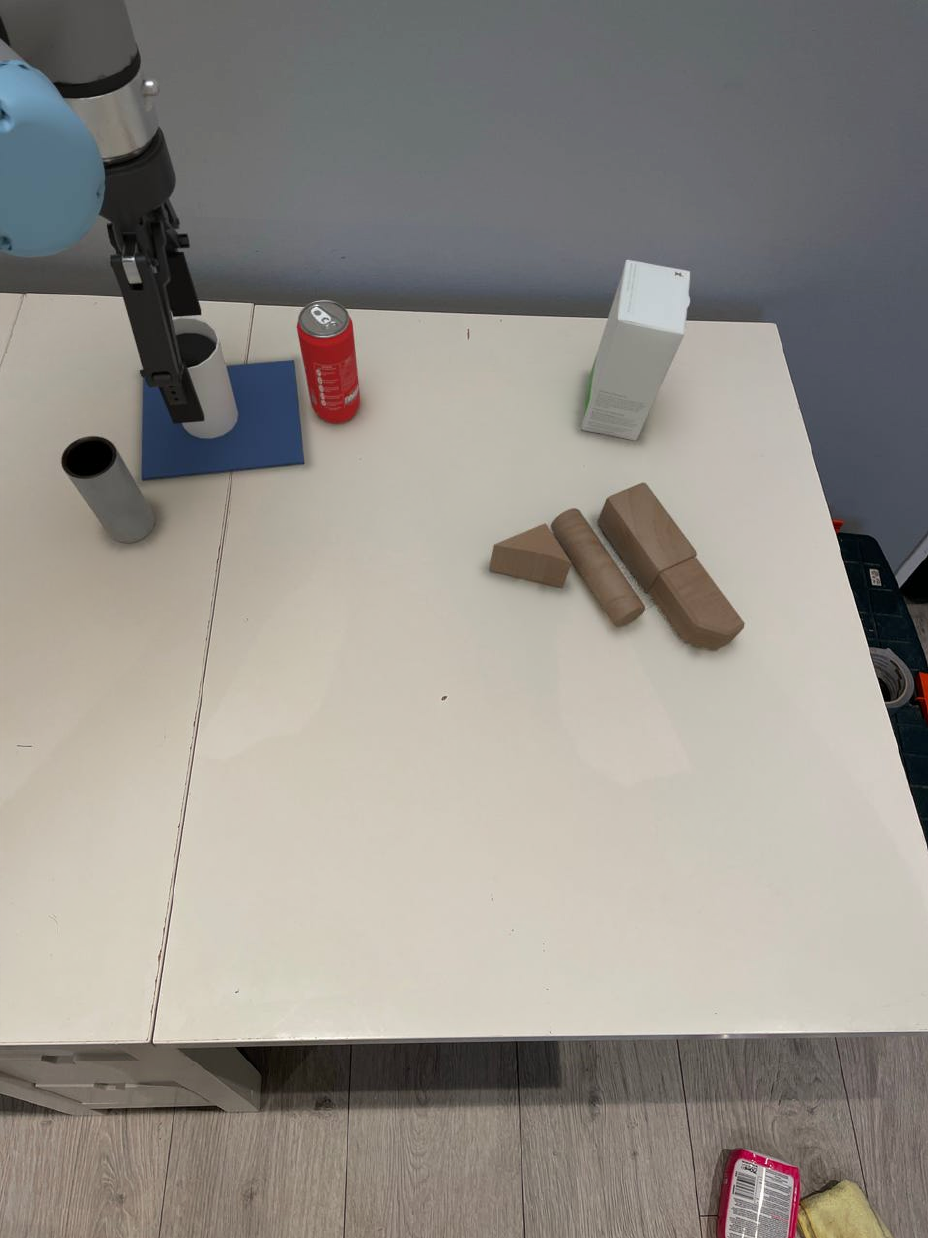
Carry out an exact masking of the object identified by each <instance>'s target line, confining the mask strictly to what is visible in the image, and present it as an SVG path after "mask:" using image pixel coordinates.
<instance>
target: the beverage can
mask: <svg viewBox="0 0 928 1238" xmlns="http://www.w3.org/2000/svg"><path fill="white" fill-rule="evenodd" d="M296 331H297V332H296V333H297V335H298V336H297V337H298V343H299V348H300V352H301V359H302V363H303V369H304V375H305V379H306V385H307V390H308V396H309V400H310V405H311V408H312V409H313V411H314V412H315V413H316V414H317V416H318V417H319V418H320V419H321V420H322V421H324V422H326V423H329V424H334V425H337V424H344V423H347V422H349V421H350V420H352V419H353V418H354V417H355V416H356V414H357V412H358V409H359V407H360V406H361V392H360V384H359V383H360V382H359V371H358V364H357V354H356V353H357V351H356V341H355V334H354V323H353V319H352V318H351V316H350V314H349V311H348V310H347V309H346V308H345V307H344V306H343V305H342V304H340V303H338V302H336V301H333V300H325V299H324V300H323V299H322V300H316V301H312V302H310V303H308V304H306V305H305V306H304V307H303V308H302V309H301V310H300V312H299V314H298V317H297V322H296Z"/></svg>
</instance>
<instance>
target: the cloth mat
mask: <svg viewBox="0 0 928 1238" xmlns="http://www.w3.org/2000/svg"><path fill="white" fill-rule="evenodd" d="M295 367H296V366H295V360H294V359H290V360H289V359H288V360H277V361H265V362H254V363H241V364H231V365H226V368H227V372H228V375H229V379H230V383H231V387H232V391H233V395H234V399H235V403H236V407H237V411H238V418H237V422H236V424H235V425H234V427H233V428H232V430H230V431H229V432H227V433H226V434H224V435H223V436H219V437H215V438H212V439H211V438H199V437H196V436H193V435H191V434H190V433H189V432H188V431H187V430H186V429H184V427H183V425H182V423H177V424H174V423H173V421H172V418H171V416H170V414H169V411H168V409H167V407H166V404H165V402H164V399H163V397H162V395H161V392H160V390H159V388H158V387H150V388H149V386H148V385H147V383H146V381H145V377H144V378H143V377H142V415H141V416H142V418H141V419H142V425H141V435H142V436H141V481H152V480H163V479H171V478H172V479H173V478H181V477H191V476H200V475H210V474H220V473H231V472H238V471H239V472H240V471H248V470H249V471H250V470H258V469H259V470H260V469H269V468H278V467H286V466H296V465H297V466H298V465H304V464H305V458H304V457H305V456H304V447H303V438H302V428H301V427H302V426H301V418H300V406H299V397H298V386H297V377H296V368H295Z"/></svg>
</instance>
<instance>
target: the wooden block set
mask: <svg viewBox="0 0 928 1238" xmlns="http://www.w3.org/2000/svg"><path fill="white" fill-rule="evenodd" d="M654 493H655V492H653V490H652V489H651V488H650V486H649V485H648V484H647V483H646V482H640V483H638V484H636V485H633V486H631V487H628V488H625V489H623V490H621V491H618V492H616V493H614V494H611V495H609V496H607V498H606V499H605V501H604V503H603V506H602V509H601V511H600V514H599V515H598V518H597V525H598V526H599V527H600V529H601V530H602V532H603V533H604V535H605V536H606V538H607V539H608V541H609V542H610V543H611V545H612V546H613V548H614V549H615V551H616V552H617V554H618V555H619V556H620V558H621V559H622V561H623V562H624V564H625V566H626V567H627V569H628V570H629V571H630V572H631V574H632V575H633V577H634V578H635V580H636V582H637V583H638V584H639V586H640V587H641V588H642V590H643V591H644V592H645V593H649V595H650V596H651V597H652V599H653V600H654V602H655V603H656V605H657V607H658V608H659V609H660V611H661V612H662V613H663V615H664V616H665V618H666V619H667V620H668V622H669V623H670V625H671V626H672V628H673V629H674V631H675V632H676V634H677V635H678V636H679V638H680V639H681V640H682V641H684V642H685V643H687V644H690V645H694V646H697V647H700V648H703V649H707V650H710V651H717V650H719V649H721V648H723V647H725V646H727V645H729V644H730V643H731V642H732V641H733V640H734V639H735V638H736V637H737V636H738V635H739V634H740V633H741V632H742V631H743V629H744V628H745V625H746V624H745V622H744V619H742V617H741V616H740V615H739V613H738V612H737V610H736V609H735V608H734V607H733V605H732V603H731V602H730V601H729V599H728V598H727V596H725V594H724V593H723V592H722V590H721V589H720V587H719V586H718V585H717V583H716V582H715V580H714V579H713V578H712V577H711V575H710V573H708V571H707V570H706V568H705V566H703V565H702V563H701V562H700V560H699V559H698V557H697V556H698V553H697V550H696V548H694V546H693V544H692V543H691V542H690V541H689V539H688V538H687V537H686V535H685V534H684V533H683V531H682V530H681V528H680V527H679V525H677V523H676V521H674V519H673V517H672V516H671V515H670V513H669V512H668V511H667V509H666V508H665V507H664V505H663V504H662V503H661V501H660V500H659V498H657V496H656V494H654ZM572 565H574V566H575V568H576V569H577V571H578V572H579V574H580V575H581V577H582V579H583V580H584V581H585V583H586V584H587V586H588V587H589V589H590V590H591V592H592V593H593V595H594V597H595V598H596V599H597V601H598V602H599V605H600V606H601V607H602V609H603V610H604V612H605V614H606V615H607V616H608V618H609V619H610V621H611V622H612V624H613V625H614V627H617V628H620V627H624V626H627V625H628V624H630V623H633V621H636V620H637V619H638V618H639V617H640V616H642V614H643V613H644V612H645V611H646V606H645V604H644V602H643V601H642V600H641V598H640V597H639V595H638V594H637V593H636V591H635V589H634V588H633V586H632V585H631V584H630V582H629V581H628V579H627V578H626V576H625V575H624V573H623V572H622V570H621V569H620V567H619V566H618V564H617V563H616V562H615V560H614V558H613V557H612V556H611V554H610V553H609V551H608V550H607V548H606V547H605V545H604V544H603V542H602V541H601V540H600V538H599V537H598V535H597V534H596V532H595V531H594V529H593V528H592V527H591V525H590V524H589V522H588V521H587V519H586V517H585V516H584V514H583V513H582V511H581V510H580V509H578V508H575V507H573V508H568V509H567V510H565V511H562V512H561V513H559V514H558V515H557V516H555V518H554V519H553V520H552V522H551V524H550V528H549V526H548V524H547V523H546V522H545V523H543V524H540V525H537V526H535V527H533V528H530V529H528V530H525V531H523V532H521V533H519V534H516V535H513V536H511V537H509V538H506V539H503V540H502V541H499V542H497V543H495V544H493V547H492V552H491V557H490V563H489V567H488V571H490V572H494V573H497V574H502V575H506V576H511V577H515V578H519V579H522V580H527V581H531V582H536V583H540V584H543V585H548V586H553V587H557V588H560V589H563V587H564V584H565V583H566V580H567V577H568V575H569V571H570V569H571V566H572Z"/></svg>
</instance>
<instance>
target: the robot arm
mask: <svg viewBox="0 0 928 1238" xmlns="http://www.w3.org/2000/svg"><path fill="white" fill-rule="evenodd" d="M140 53H141V52H140V50H139V46H138V43H137V42H136V38H135V35H134V31H133V27H132V23H131V20H130V16H129V13H128V9H127V4H126V1H125V0H0V252H2V253H5V254H7V255H11V256H14V257H19V258H27V259H28V258H43V257H48V256H53V255H56V254H58V253H61V252H63V251H66V250H68V249H69V248H71V247H73V246H75V245H76V244H77V243H78V242H80V241H81V240H82V239H83V238H84V237H85V236H86V235H87V234H88V233H89V232H90V230H91V229H92V228H93V226H94V224H95V223H96V221H97V219H98V217H99V216H100V217H103V218H104V219H106V220H107V221H109V222H107V223H106V229H107V235H108V240H109V243H110V245H111V246H112V248H113V249H114V250H115V254H110V256H109V257H110V258H109V259H110V260H109V263H110V264H109V265H110V267H111V268H112V270H113V273H114V275H115V279H116V281H117V284H118V287H119V290H120V291H121V292H120V293H121V295H122V299H123V302H124V307H125V310H126V313H127V317H128V320H129V323H130V328H131V331H132V335H133V338H134V341H135V346H136V349H137V352H138V357H139V359H140V363H141V366H142V369H140V370H139V374H140V376H141V378H142V379H143V378H144V377H145V381H146V383H147V385H148V386H149V388H150V387H158V388H159V390H160V392H161V395H162V397H163V399H164V402H165V404H166V407H167V409H168V411H169V414H170V416H171V418H172V421H173V423H174V424H177V423H188V422H200V421H204V413H203V410H202V407H201V405H200V402H199V399H198V396H197V393H196V391H195V388H194V385H193V382H192V380H191V377H190V374H189V371H188V368H187V366H186V363H185V361H181V358H180V353H179V348H178V343H177V338H176V333H175V328H174V324H173V319H174V318H182V317H195V316H196V317H197V316H202V308H201V303H200V301H199V298H198V294H197V291H196V288H195V284H194V282H193V279H192V275H191V271H190V268H189V265H188V262H187V259H186V256H185V252H184V251H179V249H190V248H191V244H190V238H189V235H188V233H178V231H177V230H179V229H180V225H181V223H180V219H179V217H178V215H177V213H176V211H175V209H174V206H173V205H172V202H171V200H170V198H171V196H172V195H173V193H174V191H175V188H176V184H177V178H176V172H175V169H174V165H173V162H172V158H171V154H170V151H169V148H168V145H167V141H166V137H165V135H164V132H163V130H162V128H161V127H160V126H159V122H160V121H159V117H158V114H157V113H158V112H157V110H156V107H155V103H154V100H153V97H156V96H158V95H159V93H160V85H159V82H157V80H156V79H155V78H152V77H148V78H147V77H146V78H145V69H144V65H143V62H142V59H141V54H140ZM154 268H155V270H156V272H155V270H154Z"/></svg>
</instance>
